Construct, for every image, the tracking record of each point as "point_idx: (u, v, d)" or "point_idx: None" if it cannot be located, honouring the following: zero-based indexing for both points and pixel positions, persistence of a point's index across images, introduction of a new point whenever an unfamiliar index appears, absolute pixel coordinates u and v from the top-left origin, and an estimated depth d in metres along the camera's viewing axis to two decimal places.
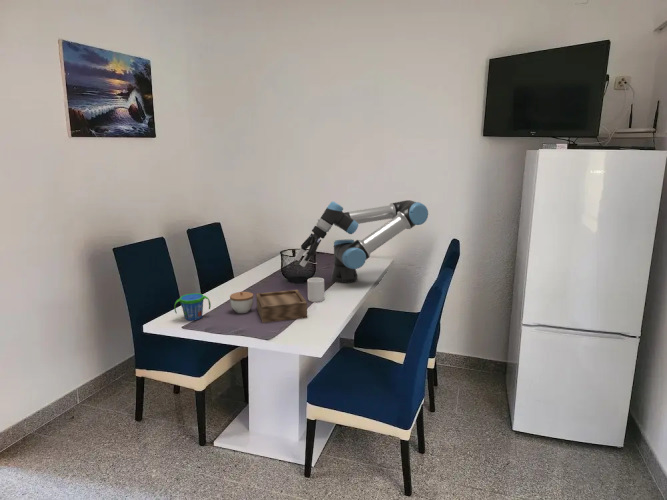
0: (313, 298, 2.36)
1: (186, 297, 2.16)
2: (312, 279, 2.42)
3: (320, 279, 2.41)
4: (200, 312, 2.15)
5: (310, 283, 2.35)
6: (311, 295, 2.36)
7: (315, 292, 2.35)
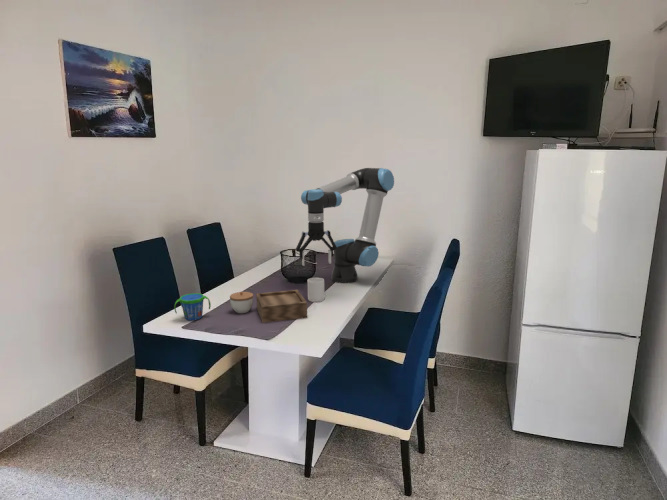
0: (313, 298, 2.36)
1: (186, 297, 2.16)
2: (312, 279, 2.42)
3: (320, 279, 2.41)
4: (200, 312, 2.15)
5: (310, 283, 2.35)
6: (311, 295, 2.36)
7: (315, 292, 2.35)
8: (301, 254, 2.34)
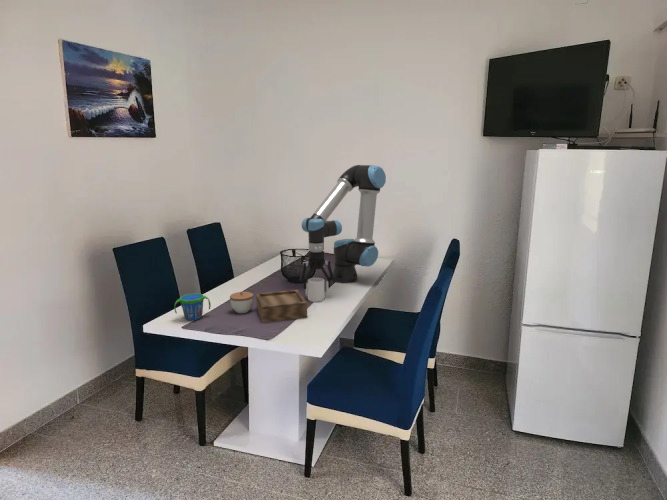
0: (313, 298, 2.36)
1: (186, 297, 2.16)
2: (312, 279, 2.42)
3: (320, 279, 2.41)
4: (200, 312, 2.15)
5: (310, 283, 2.35)
6: (311, 295, 2.36)
7: (315, 292, 2.35)
8: (305, 284, 2.38)
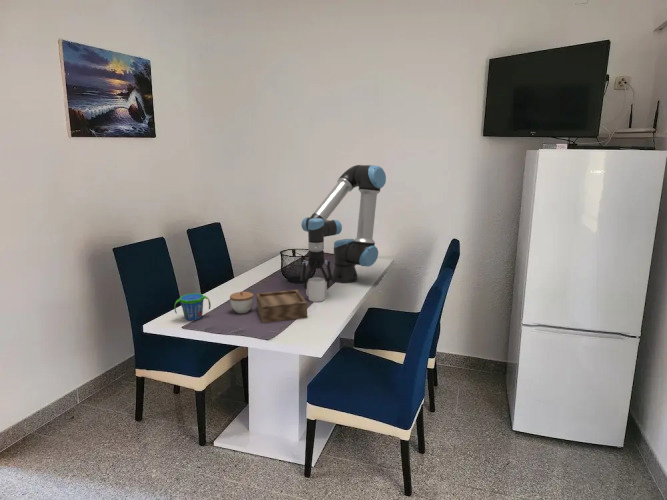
0: (314, 298, 2.36)
1: (186, 297, 2.16)
2: (313, 279, 2.42)
3: (321, 279, 2.41)
4: (200, 312, 2.15)
5: (311, 283, 2.35)
6: (312, 295, 2.36)
7: (316, 292, 2.35)
8: (305, 284, 2.38)
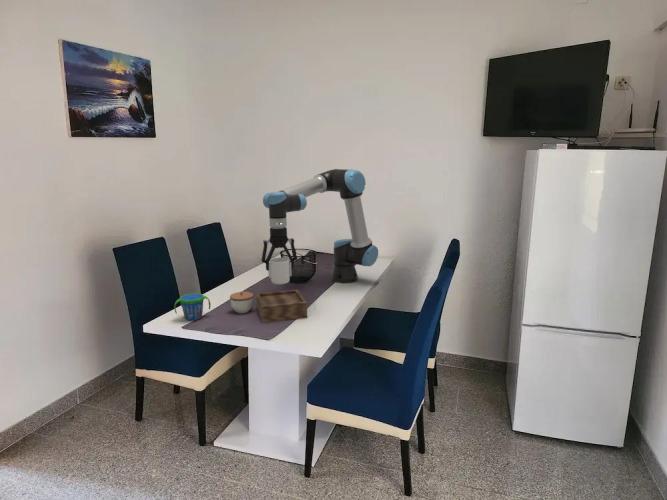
0: (276, 280, 2.14)
1: (186, 297, 2.16)
2: (276, 259, 2.19)
3: (285, 259, 2.19)
4: (200, 312, 2.15)
5: (273, 263, 2.13)
6: (274, 277, 2.14)
7: (279, 273, 2.13)
8: (267, 265, 2.15)
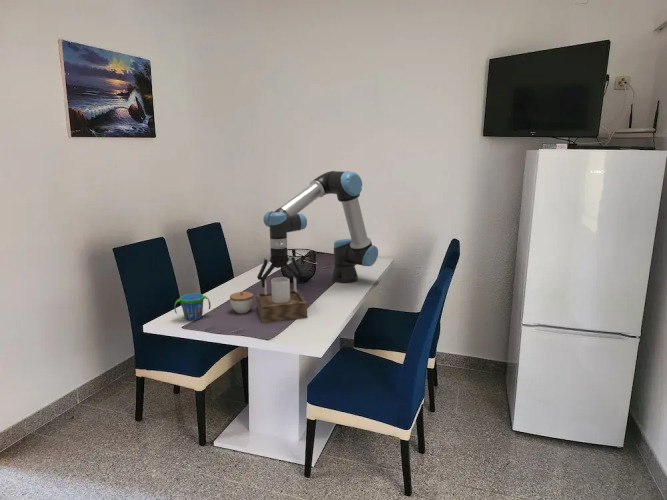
0: (277, 299, 2.16)
1: (186, 297, 2.16)
2: (277, 279, 2.21)
3: (285, 279, 2.21)
4: (200, 312, 2.15)
5: (274, 283, 2.15)
6: (275, 296, 2.16)
7: (279, 293, 2.15)
8: (263, 282, 2.16)
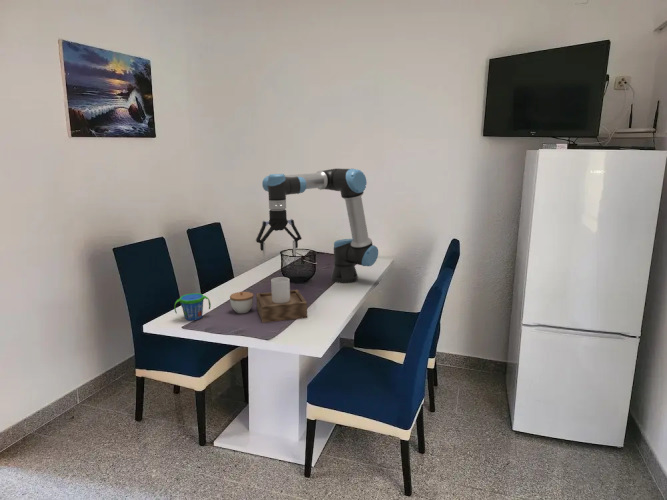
0: (277, 299, 2.16)
1: (186, 297, 2.16)
2: (277, 279, 2.21)
3: (285, 279, 2.21)
4: (200, 312, 2.15)
5: (274, 283, 2.15)
6: (275, 296, 2.16)
7: (279, 293, 2.15)
8: (262, 245, 2.13)
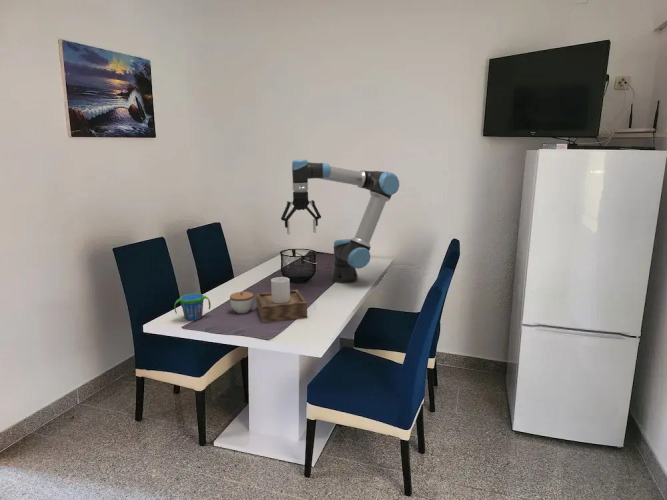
0: (277, 299, 2.16)
1: (186, 297, 2.16)
2: (277, 279, 2.21)
3: (285, 279, 2.21)
4: (200, 312, 2.15)
5: (274, 283, 2.15)
6: (275, 296, 2.16)
7: (279, 293, 2.15)
8: (286, 223, 2.40)
